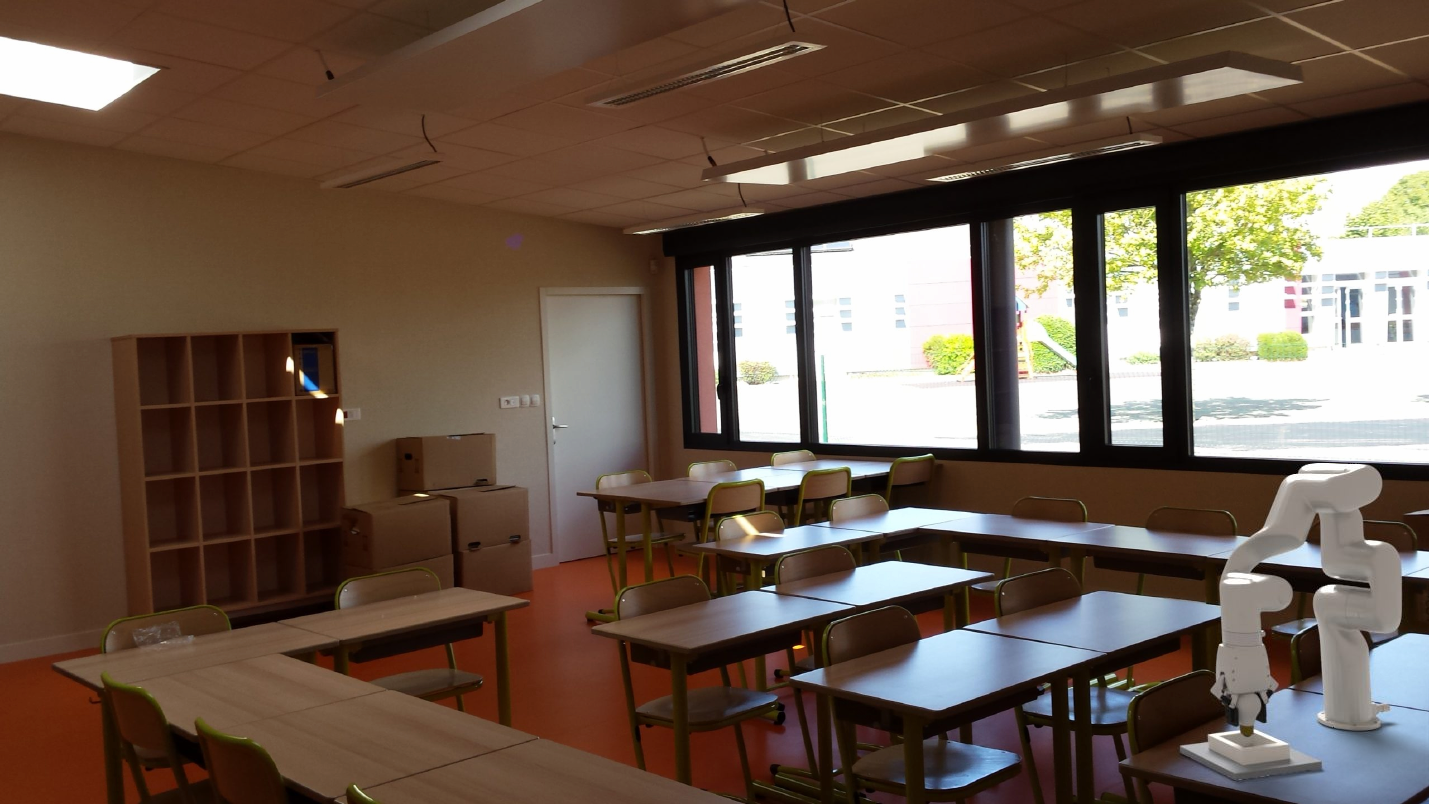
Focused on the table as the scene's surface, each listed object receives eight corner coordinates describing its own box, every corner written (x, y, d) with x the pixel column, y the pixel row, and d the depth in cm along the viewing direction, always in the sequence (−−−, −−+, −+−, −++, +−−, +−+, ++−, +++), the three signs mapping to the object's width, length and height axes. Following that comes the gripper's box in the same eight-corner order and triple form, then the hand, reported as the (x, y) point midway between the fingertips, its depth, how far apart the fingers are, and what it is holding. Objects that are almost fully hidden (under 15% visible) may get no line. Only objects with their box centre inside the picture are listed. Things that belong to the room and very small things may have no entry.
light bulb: (1266, 741, 221) (1263, 693, 221) (1236, 741, 222) (1233, 693, 222) (1258, 732, 226) (1255, 685, 226) (1228, 732, 227) (1225, 685, 227)
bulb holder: (1261, 741, 235) (1259, 721, 235) (1322, 768, 217) (1320, 746, 217) (1180, 752, 231) (1179, 732, 231) (1235, 781, 213) (1234, 758, 213)
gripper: (1265, 630, 229) (1269, 713, 229) (1194, 638, 226) (1198, 722, 226) (1290, 638, 222) (1295, 723, 222) (1217, 646, 219) (1222, 733, 219)
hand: (1246, 722), depth 224 cm, fingers closed on light bulb, 5 cm apart
